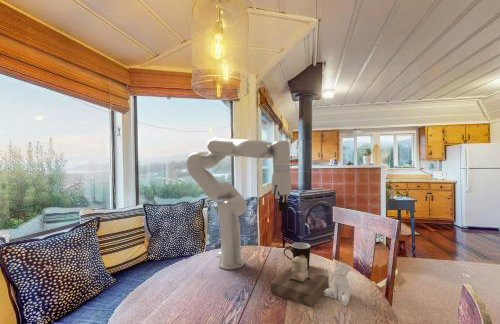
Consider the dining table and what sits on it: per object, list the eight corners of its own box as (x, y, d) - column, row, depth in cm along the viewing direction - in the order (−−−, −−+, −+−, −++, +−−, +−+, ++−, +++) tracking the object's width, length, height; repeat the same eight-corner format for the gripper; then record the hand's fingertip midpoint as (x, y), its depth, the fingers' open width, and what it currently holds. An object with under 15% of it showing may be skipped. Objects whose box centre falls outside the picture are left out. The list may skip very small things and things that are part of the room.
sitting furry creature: (321, 295, 88) (320, 262, 88) (335, 287, 93) (334, 256, 94) (345, 307, 81) (344, 270, 81) (359, 297, 86) (358, 263, 86)
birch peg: (292, 291, 92) (291, 260, 92) (297, 286, 96) (296, 256, 96) (303, 294, 89) (302, 262, 90) (308, 289, 93) (307, 258, 93)
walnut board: (270, 293, 91) (270, 282, 91) (291, 276, 104) (290, 267, 104) (311, 307, 81) (311, 294, 81) (328, 287, 94) (328, 276, 94)
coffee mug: (313, 265, 114) (313, 244, 114) (307, 272, 107) (306, 249, 107) (290, 261, 120) (289, 240, 121) (283, 267, 113) (282, 245, 113)
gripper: (282, 168, 117) (283, 207, 116) (265, 169, 105) (266, 212, 104) (297, 168, 112) (298, 208, 112) (280, 169, 100) (282, 214, 100)
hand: (283, 210), depth 108 cm, fingers closed
